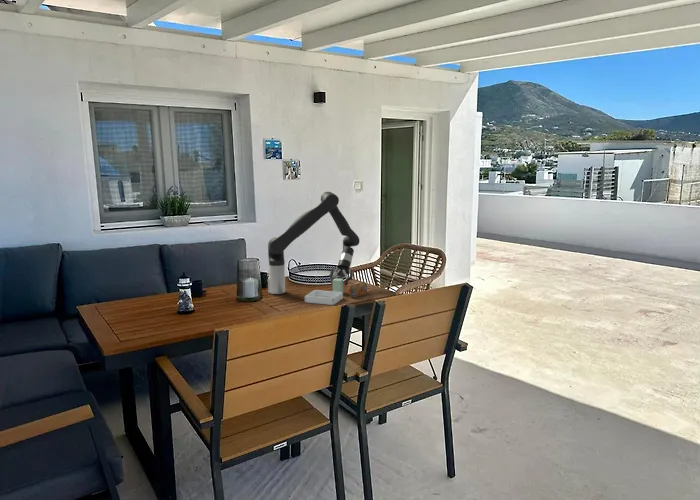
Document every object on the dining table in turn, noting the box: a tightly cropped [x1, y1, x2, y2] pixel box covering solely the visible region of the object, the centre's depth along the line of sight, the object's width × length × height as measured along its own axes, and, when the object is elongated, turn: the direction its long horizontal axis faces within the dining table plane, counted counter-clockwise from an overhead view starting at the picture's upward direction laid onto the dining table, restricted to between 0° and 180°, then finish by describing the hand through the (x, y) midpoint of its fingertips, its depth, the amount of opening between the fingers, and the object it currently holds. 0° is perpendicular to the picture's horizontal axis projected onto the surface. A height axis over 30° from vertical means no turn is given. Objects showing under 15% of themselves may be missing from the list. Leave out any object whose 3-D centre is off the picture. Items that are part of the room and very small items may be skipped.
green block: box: [332, 278, 344, 293], centre depth 287 cm, size 5×5×9 cm
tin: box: [348, 281, 368, 299], centre depth 282 cm, size 15×3×8 cm, turn 143°
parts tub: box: [304, 289, 344, 306], centre depth 272 cm, size 17×15×4 cm
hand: (338, 284), depth 288 cm, fingers open, 8 cm apart
